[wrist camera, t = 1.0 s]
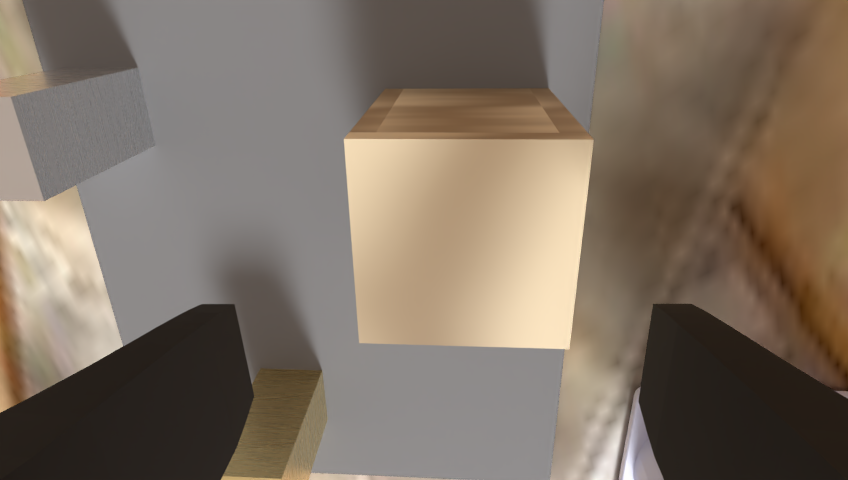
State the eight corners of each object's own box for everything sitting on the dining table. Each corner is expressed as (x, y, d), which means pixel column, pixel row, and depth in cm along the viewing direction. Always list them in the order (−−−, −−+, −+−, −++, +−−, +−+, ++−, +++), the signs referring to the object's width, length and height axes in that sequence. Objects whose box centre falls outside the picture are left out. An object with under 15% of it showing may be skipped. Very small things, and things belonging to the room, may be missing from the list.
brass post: (322, 370, 22) (281, 478, 17) (327, 419, 23) (290, 534, 18) (260, 368, 23) (202, 475, 18) (268, 417, 24) (216, 530, 19)
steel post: (138, 67, 18) (10, 97, 13) (155, 145, 19) (44, 201, 14) (62, 67, 18) (-93, 96, 13) (83, 145, 19) (-52, 199, 14)
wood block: (548, 87, 17) (593, 139, 11) (536, 238, 19) (569, 349, 13) (385, 88, 18) (343, 138, 12) (391, 236, 20) (359, 343, 14)
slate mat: (606, -52, 16) (609, -53, 15) (548, 476, 24) (549, 483, 24) (20, -40, 17) (10, -41, 17) (162, 458, 26) (158, 465, 25)
